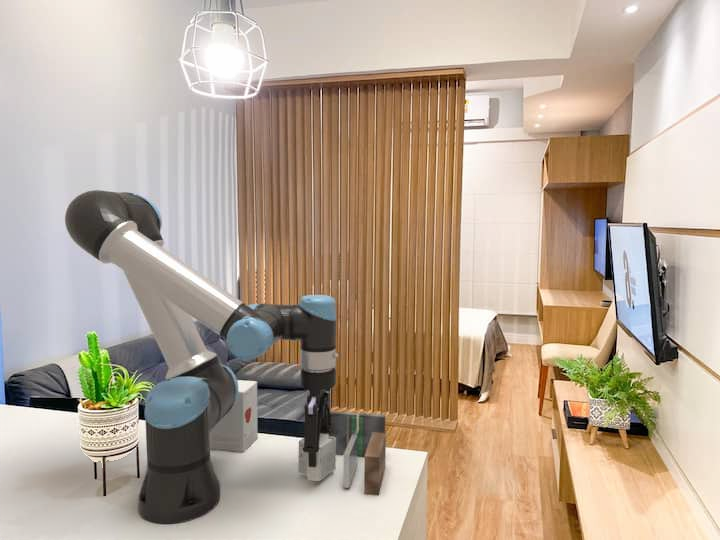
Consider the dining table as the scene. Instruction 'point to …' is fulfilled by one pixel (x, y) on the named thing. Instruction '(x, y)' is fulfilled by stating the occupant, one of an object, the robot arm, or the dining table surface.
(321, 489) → the dining table surface
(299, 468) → the skincare box
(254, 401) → the supplement box
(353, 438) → the plate
